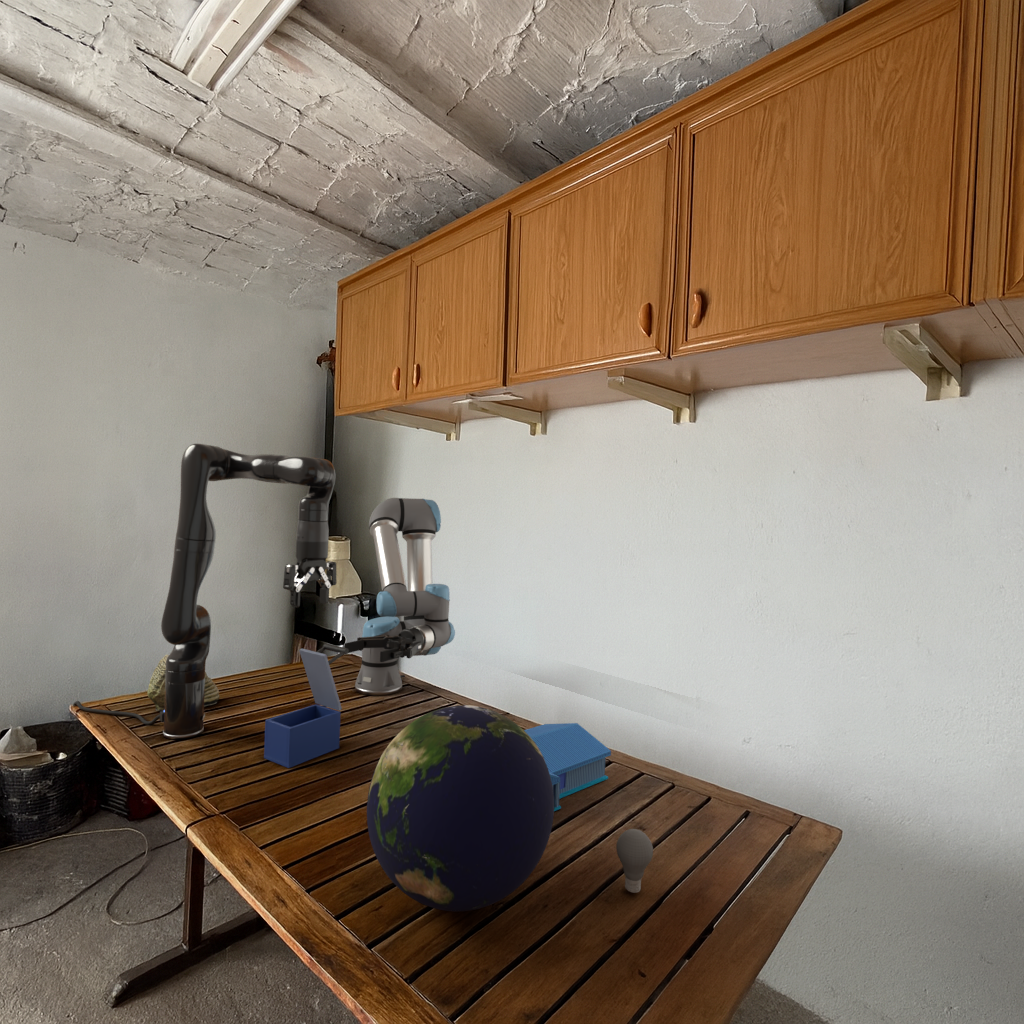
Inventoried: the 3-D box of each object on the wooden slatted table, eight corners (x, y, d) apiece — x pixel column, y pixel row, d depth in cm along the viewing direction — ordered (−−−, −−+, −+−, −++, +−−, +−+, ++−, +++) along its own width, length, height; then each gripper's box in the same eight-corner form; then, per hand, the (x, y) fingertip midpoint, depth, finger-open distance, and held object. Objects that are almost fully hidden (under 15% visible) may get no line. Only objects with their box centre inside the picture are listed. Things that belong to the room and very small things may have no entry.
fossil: (144, 707, 182) (145, 655, 182) (212, 696, 194) (213, 647, 194) (151, 716, 175) (153, 662, 175) (221, 703, 188) (223, 653, 188)
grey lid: (323, 656, 154) (347, 639, 160) (299, 649, 159) (322, 633, 165) (339, 710, 159) (361, 692, 165) (315, 703, 164) (337, 685, 170)
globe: (322, 922, 94) (330, 722, 94) (423, 829, 122) (430, 674, 122) (507, 988, 83) (517, 762, 83) (572, 869, 111) (580, 699, 110)
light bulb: (610, 879, 108) (613, 822, 108) (644, 879, 109) (647, 822, 109) (619, 902, 102) (622, 840, 102) (655, 901, 103) (658, 840, 103)
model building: (490, 838, 120) (492, 786, 120) (417, 791, 138) (419, 745, 138) (619, 783, 146) (621, 740, 146) (544, 749, 164) (545, 711, 164)
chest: (288, 768, 147) (290, 728, 147) (263, 758, 152) (265, 719, 152) (339, 748, 160) (340, 711, 159) (314, 739, 165) (316, 703, 164)
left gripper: (298, 541, 147) (296, 610, 147) (345, 539, 159) (342, 603, 159) (277, 539, 151) (275, 606, 151) (324, 537, 163) (322, 600, 163)
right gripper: (447, 659, 182) (396, 674, 164) (384, 645, 196) (330, 658, 178) (448, 633, 182) (397, 646, 164) (385, 621, 196) (331, 631, 178)
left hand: (309, 605), depth 155 cm, fingers open, 8 cm apart
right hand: (362, 652), depth 171 cm, fingers open, 13 cm apart
